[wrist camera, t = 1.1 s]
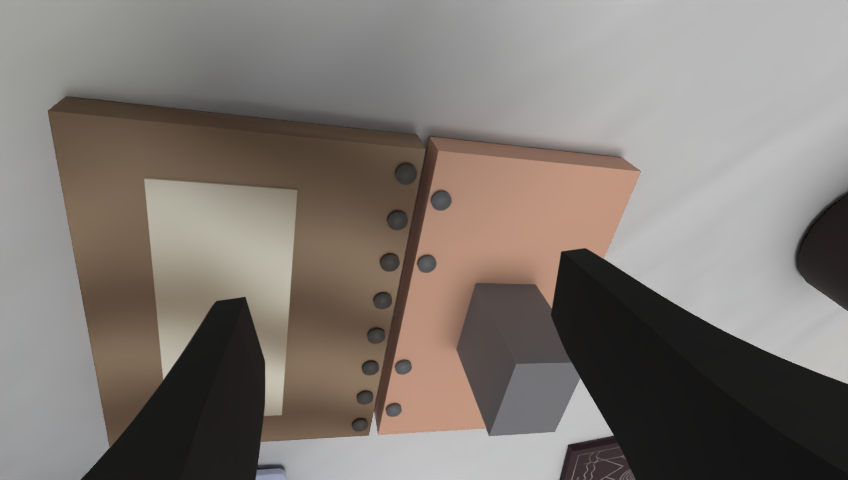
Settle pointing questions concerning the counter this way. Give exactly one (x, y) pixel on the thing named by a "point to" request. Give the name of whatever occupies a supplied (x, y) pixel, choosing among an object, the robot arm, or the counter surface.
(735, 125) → the counter surface
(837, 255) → the bottle
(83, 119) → the board
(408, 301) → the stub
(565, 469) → the chocolate bar
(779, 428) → the robot arm
